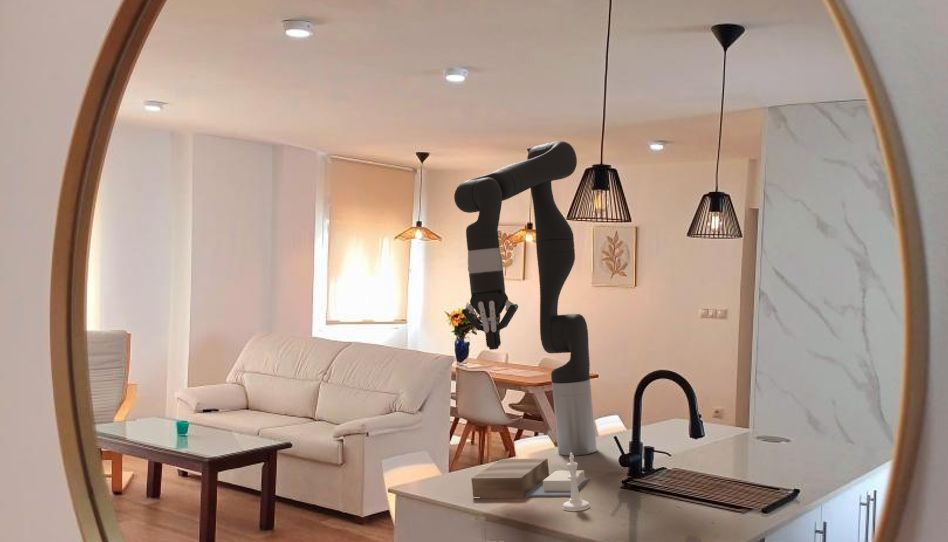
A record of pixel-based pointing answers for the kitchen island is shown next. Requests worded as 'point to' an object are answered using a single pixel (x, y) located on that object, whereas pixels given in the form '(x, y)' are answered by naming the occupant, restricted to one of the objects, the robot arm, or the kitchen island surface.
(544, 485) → the white rectangular block
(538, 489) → the mat
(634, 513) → the kitchen island surface
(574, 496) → the chess piece
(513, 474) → the block
